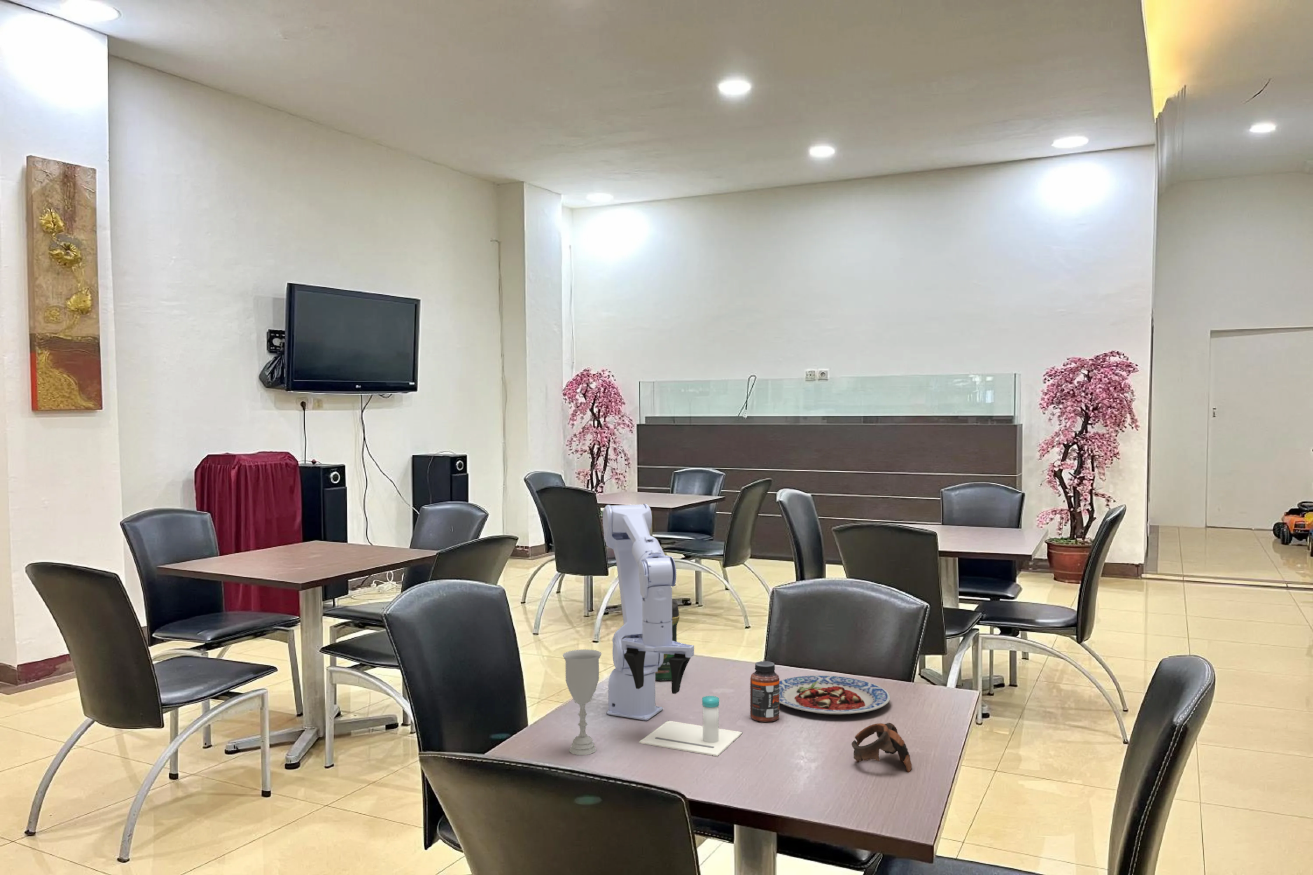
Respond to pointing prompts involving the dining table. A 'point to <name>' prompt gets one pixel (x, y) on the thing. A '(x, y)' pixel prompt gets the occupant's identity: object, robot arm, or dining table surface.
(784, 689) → the ceramic plate
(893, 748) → the brown curved ring piece
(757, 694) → the supplement bottle
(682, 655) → the robot arm
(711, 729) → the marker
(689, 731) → the paper
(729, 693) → the dining table surface
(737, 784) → the dining table surface
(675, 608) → the coffee jar
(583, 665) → the chalice
